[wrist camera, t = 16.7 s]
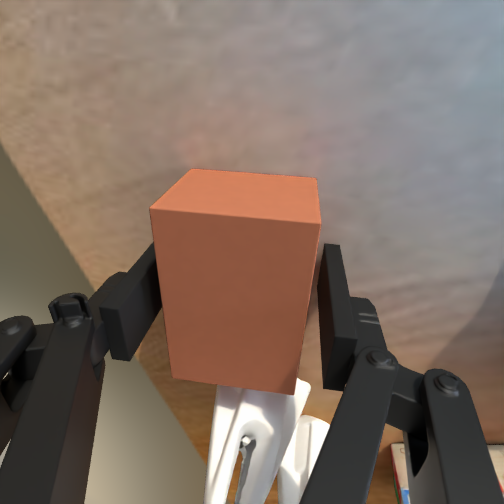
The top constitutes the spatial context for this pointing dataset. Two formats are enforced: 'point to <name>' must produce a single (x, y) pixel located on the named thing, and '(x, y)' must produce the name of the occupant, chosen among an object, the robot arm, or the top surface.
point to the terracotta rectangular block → (236, 275)
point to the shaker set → (262, 444)
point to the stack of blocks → (499, 454)
